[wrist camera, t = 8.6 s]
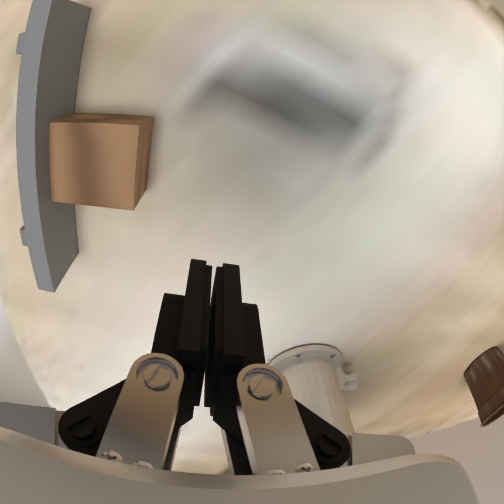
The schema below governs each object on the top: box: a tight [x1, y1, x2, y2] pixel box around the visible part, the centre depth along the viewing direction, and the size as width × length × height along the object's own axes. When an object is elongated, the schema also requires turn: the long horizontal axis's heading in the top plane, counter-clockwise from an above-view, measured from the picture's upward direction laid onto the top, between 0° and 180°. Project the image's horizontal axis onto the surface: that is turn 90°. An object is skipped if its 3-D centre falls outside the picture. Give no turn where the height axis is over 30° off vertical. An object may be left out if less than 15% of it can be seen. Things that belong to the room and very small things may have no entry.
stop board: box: [16, 0, 91, 292], centre depth 20 cm, size 6×26×7 cm, turn 168°
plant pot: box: [464, 347, 504, 427], centre depth 50 cm, size 16×16×16 cm
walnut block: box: [49, 113, 154, 211], centre depth 22 cm, size 8×7×5 cm
